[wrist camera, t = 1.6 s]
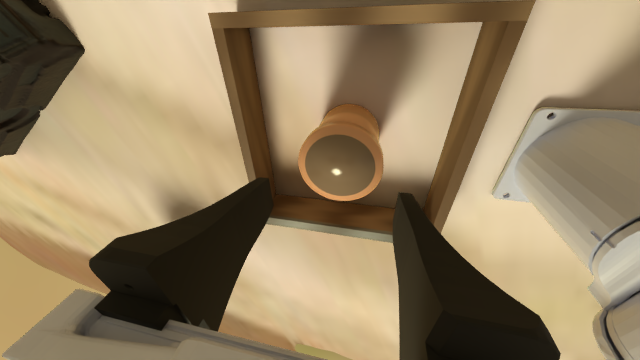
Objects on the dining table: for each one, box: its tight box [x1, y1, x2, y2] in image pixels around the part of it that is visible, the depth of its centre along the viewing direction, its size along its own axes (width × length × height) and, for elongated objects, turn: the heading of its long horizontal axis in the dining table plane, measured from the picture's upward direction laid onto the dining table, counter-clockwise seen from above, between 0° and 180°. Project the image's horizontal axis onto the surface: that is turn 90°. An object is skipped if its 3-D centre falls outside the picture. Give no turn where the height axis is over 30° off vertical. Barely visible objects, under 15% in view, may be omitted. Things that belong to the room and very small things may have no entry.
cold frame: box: [208, 0, 536, 243], centre depth 19 cm, size 18×18×4 cm
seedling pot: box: [298, 104, 383, 201], centre depth 18 cm, size 6×6×6 cm
